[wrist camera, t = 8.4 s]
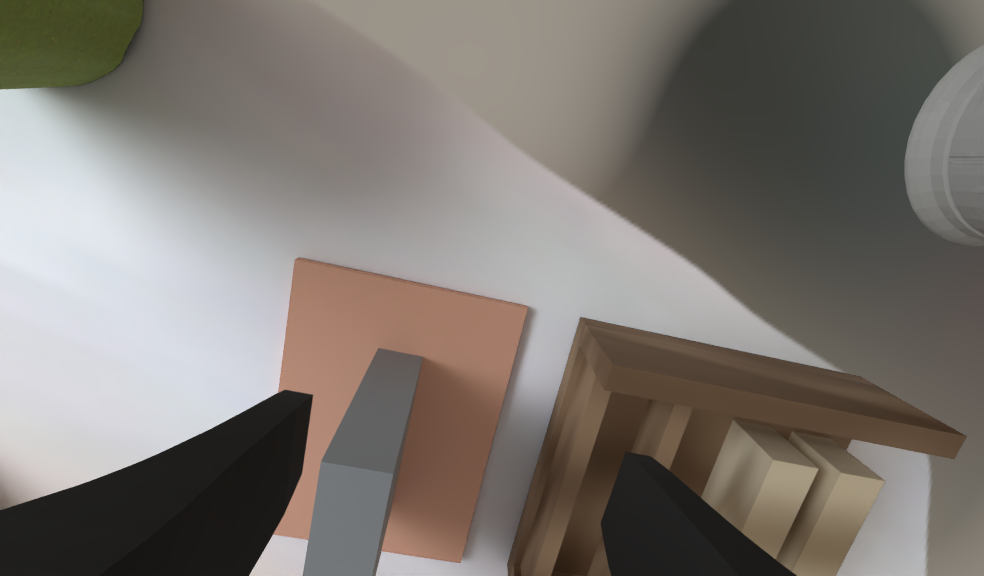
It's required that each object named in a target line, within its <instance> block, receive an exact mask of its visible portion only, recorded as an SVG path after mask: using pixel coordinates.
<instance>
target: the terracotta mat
mask: <svg viewBox="0 0 984 576" xmlns="http://www.w3.org/2000/svg"><path fill="white" fill-rule="evenodd" d="M527 310H528V308H527V306H525V305H520V304H516V303H511V302H506V301H501V300H497V299H492V298H487V297H483V296H478V295H473V294H468V293H464V292H459V291H454V290H449V289H445V288H440V287H435V286H431V285H426V284H421V283H416V282H412V281H407V280H402V279H398V278H393V277H388V276H383V275H379V274H374V273H369V272H364V271H360V270H355V269H350V268H346V267H341V266H336V265H331V264H327V263H322V262H317V261H313V260H308V259H303V258H297V259H295V264H294V272H293V280H292V288H291V296H290V303H289V311H288V319H287V327H286V335H285V343H284V351H283V359H282V367H281V375H280V383H279V391H278V393H279V392H281V391H283V390H290V391H296V392H301V393H307V394H312V395H313V401H312V408H311V415H310V422H309V429H308V436H307V443H306V450H305V457H304V464H303V471H302V475H301V477H300V480H299V482H298V484H297V487H296V489H295V491H294V494H293V496H292V498H291V500H290V503H289V505H288V507H287V509H286V512H285V514H284V516H283V518H282V520H281V521H280V523H279V525H278V527H277V528H276V530H275V532H274V534H275V535H281V536H287V537H294V538H300V539H307V540H309V534H310V527H311V521H312V515H313V508H314V502H315V496H316V489H317V483H318V477H319V471H320V464H321V460H322V458H323V456H324V454H325V453H326V451H327V449H328V447H329V445H330V443H331V441H332V439H333V437H334V435H335V433H336V431H337V429H338V427H339V425H340V423H341V421H342V419H343V417H344V415H345V413H346V411H347V409H348V407H349V405H350V403H351V401H352V399H353V397H354V395H355V393H356V391H357V389H358V387H359V385H360V383H361V381H362V379H363V377H364V375H365V373H366V371H367V369H368V367H369V365H370V363H371V361H372V359H373V357H374V355H375V353H376V351H377V349H378V348H382V349H387V350H392V351H397V352H402V353H407V354H412V355H417V356H422V357H423V360H422V365H421V369H420V374H419V379H418V384H417V388H416V393H415V398H414V403H413V408H412V412H411V417H410V422H409V427H408V431H407V436H406V441H405V446H404V451H403V455H402V460H401V465H400V470H399V474H398V479H397V484H396V489H395V494H394V498H393V503H392V508H391V512H390V516H389V520H388V525H387V529H386V533H385V537H384V542H383V546H382V550H381V551H385V552H391V553H398V554H404V555H411V556H417V557H424V558H430V559H437V560H443V561H450V562H456V563H461V559H462V556H463V552H464V548H465V544H466V540H467V537H468V533H469V529H470V525H471V522H472V518H473V514H474V510H475V506H476V503H477V499H478V495H479V491H480V487H481V484H482V480H483V476H484V472H485V469H486V465H487V461H488V457H489V453H490V450H491V446H492V442H493V438H494V435H495V431H496V427H497V423H498V419H499V416H500V412H501V408H502V404H503V400H504V397H505V393H506V389H507V385H508V382H509V378H510V374H511V370H512V366H513V363H514V359H515V355H516V351H517V347H518V344H519V340H520V336H521V332H522V329H523V325H524V321H525V317H526V313H527Z"/></svg>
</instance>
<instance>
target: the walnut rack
mask: <svg viewBox="0 0 984 576" xmlns="http://www.w3.org/2000/svg"><path fill="white" fill-rule="evenodd" d="M733 420H738V421H743V422H748V423H753V424H758V425H763V426H768V427H773V428H774V429H775V430H776V431H777V432H778V433H780V434H781V435H782V436H783V437H784V438H785V439H786V440H787V441H788V439H789V437H790V435H791V433H792V431H794V432H799V433H804V434H809V435H814V436H819V437H824V438H830V439H832V440H833V441H834V442H836V443H837V444H838V445H839V446H841V447H842V448H843V449H845V450H846V449H847V447H848V445H849V443H850V441H851V439H855V440H860V441H865V442H870V443H875V444H880V445H885V446H890V447H895V448H900V449H905V450H910V451H916V452H921V453H926V454H931V455H936V456H941V457H946V458H951V459H954V458H955V457H956V455H957V453H958V451H959V449H960V448H961V446H962V444H963V442H964V441H965V439H966V437H967V436H965V435H963V434H961V433H960V432H958V431H956V430H954V429H953V428H951V427H949V426H947V425H946V424H944V423H942V422H940V421H938V420H937V419H935V418H933V417H931V416H929V415H928V414H926V413H924V412H922V411H921V410H919V409H917V408H915V407H913V406H912V405H910V404H908V403H906V402H904V401H903V400H901V399H899V398H897V397H896V396H894V395H892V394H890V393H889V392H887V391H885V390H883V389H881V388H880V387H878V386H876V385H874V384H872V383H870V382H869V381H867V380H865V379H863V378H862V377H860V376H855V375H851V374H846V373H841V372H837V371H832V370H827V369H822V368H818V367H813V366H808V365H804V364H799V363H794V362H789V361H785V360H780V359H775V358H770V357H766V356H761V355H756V354H752V353H747V352H742V351H737V350H733V349H728V348H723V347H719V346H714V345H709V344H704V343H700V342H695V341H690V340H685V339H681V338H676V337H671V336H667V335H662V334H657V333H652V332H648V331H643V330H638V329H634V328H629V327H624V326H619V325H615V324H610V323H605V322H601V321H596V320H591V319H586V318H582V317H580V321H579V324H578V327H577V331H576V334H575V338H574V341H573V344H572V348H571V351H570V354H569V358H568V361H567V364H566V368H565V371H564V375H563V378H562V381H561V385H560V388H559V391H558V395H557V398H556V402H555V405H554V408H553V412H552V415H551V418H550V422H549V425H548V429H547V432H546V435H545V439H544V442H543V445H542V449H541V452H540V456H539V459H538V462H537V466H536V469H535V472H534V476H533V479H532V483H531V486H530V489H529V493H528V496H527V499H526V503H525V506H524V510H523V513H522V516H521V520H520V523H519V526H518V530H517V533H516V537H515V540H514V543H513V547H512V550H511V553H510V557H509V560H508V564H507V566H508V576H611V573H610V570H609V566H608V561H607V556H606V552H605V546H604V541H603V535H602V529H601V520H602V517H603V515H604V512H605V509H606V506H607V503H608V500H609V497H610V495H611V492H612V489H613V486H614V483H615V480H616V478H617V475H618V472H619V469H620V466H621V463H622V460H623V458H624V455H625V452H630V453H636V454H641V455H647V456H651V457H652V458H654V459H655V460H656V461H658V462H659V463H660V464H662V465H663V466H664V467H665V468H667V469H668V470H669V471H670V472H672V473H673V474H674V475H675V476H676V477H678V478H679V479H680V480H681V481H682V482H683V483H684V484H686V485H687V486H688V487H689V488H690V489H691V490H693V491H694V492H695V493H696V494H697V495H698V496H699V497H701V496H702V494H703V492H704V489H705V487H706V484H707V482H708V479H709V477H710V475H711V472H712V470H713V467H714V465H715V462H716V460H717V457H718V455H719V453H720V450H721V448H722V445H723V443H724V440H725V438H726V435H727V433H728V431H729V428H730V426H731V423H732V421H733Z"/></svg>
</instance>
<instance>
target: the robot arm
mask: <svg viewBox="0 0 984 576" xmlns="http://www.w3.org/2000/svg"><path fill="white" fill-rule="evenodd" d="M312 401H313V395H312V394H307V393H301V392H296V391H290V390H283V391H281V392H279V393H277V394H275V395H273V396H271V397H270V398H268V399H266V400H264V401H262V402H260V403H259V404H257V405H255V406H253V407H251V408H250V409H248V410H246V411H244V412H242V413H240V414H238V415H236V416H235V417H233V418H231V419H229V420H227V421H225V422H223V423H221V424H219V425H217V426H216V427H214V428H212V429H210V430H208V431H206V432H204V433H202V434H199V435H197V436H195V437H193V438H191V439H189V440H187V441H185V442H182V443H180V444H178V445H176V446H174V447H172V448H170V449H168V450H166V451H163V452H161V453H159V454H157V455H155V456H152V457H150V458H148V459H145V460H143V461H141V462H138V463H136V464H133V465H131V466H128V467H126V468H123V469H121V470H118V471H115V472H113V473H110V474H108V475H105V476H102V477H100V478H97V479H94V480H92V481H89V482H86V483H83V484H81V485H78V486H75V487H72V488H69V489H65V490H62V491H59V492H56V493H53V494H50V495H47V496H44V497H41V498H37V499H34V500H31V501H28V502H25V503H22V504H19V505H16V506H13V507H9V508H6V509H3V510H0V576H249V574H250V573H251V571H252V569H253V568H254V566H255V564H256V563H257V561H258V559H259V557H260V556H261V554H262V552H263V551H264V549H265V547H266V546H267V544H268V542H269V540H270V539H271V537H272V535H273V534H274V532H275V530H276V528H277V527H278V525H279V523H280V521H281V520H282V518H283V516H284V514H285V512H286V509H287V507H288V505H289V503H290V500H291V498H292V496H293V494H294V491H295V489H296V487H297V484H298V482H299V480H300V477H301V475H302V471H303V464H304V457H305V450H306V443H307V436H308V429H309V422H310V415H311V408H312ZM601 529H602V535H603V541H604V546H605V552H606V556H607V561H608V566H609V570H610V573H611V576H797V575H795V574H794V573H793V572H791V571H790V570H789V569H787V568H786V567H785V566H783V565H782V564H781V563H779V562H778V561H777V560H776V559H774V558H773V557H772V556H771V555H769V554H768V553H767V552H765V551H764V550H763V549H762V548H760V547H759V546H758V545H757V544H755V543H754V542H753V541H752V540H750V539H749V538H748V537H747V536H745V535H744V534H743V533H742V532H741V531H739V530H738V529H737V528H736V527H735V526H733V525H732V524H731V523H730V522H729V521H727V520H726V519H725V518H724V517H723V516H721V515H720V514H719V513H718V512H717V511H716V510H714V509H713V508H712V507H711V506H710V505H709V504H708V503H706V502H705V501H704V500H703V499H702V498H701V497H699V496H698V495H697V494H696V493H695V492H694V491H693V490H691V489H690V488H689V487H688V486H687V485H686V484H684V483H683V482H682V481H681V480H680V479H679V478H678V477H676V476H675V475H674V474H673V473H672V472H670V471H669V470H668V469H667V468H665V467H664V466H663V465H662V464H660V463H659V462H658V461H656V460H655V459H654V458H652V457H651V456H647V455H641V454H636V453H630V452H625V455H624V458H623V460H622V463H621V466H620V469H619V472H618V475H617V478H616V480H615V483H614V486H613V489H612V492H611V495H610V497H609V500H608V503H607V506H606V509H605V512H604V515H603V517H602V520H601Z"/></svg>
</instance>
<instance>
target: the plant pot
mask: <svg viewBox="0 0 984 576" xmlns="http://www.w3.org/2000/svg"><path fill="white" fill-rule="evenodd" d="M142 12H143V0H0V89H20V88H43V87H65V86H76V85H82V84H85V83H89V82H92V81H94V80H97V79H99V78H101V77H103V76H104V75H106V74H108V73H110V72H111V71H112V70H114V69H115V68H116V67H117V66H118V65H119V64H120V63H121V62H122V60H123V56H124V54H125V51H126V49H127V47H128V45H129V43H130V42H131V40H132V38H133V36H134V34H135V33H136V31H137V29H138V28H139V26H140V24H141V20H142Z"/></svg>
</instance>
